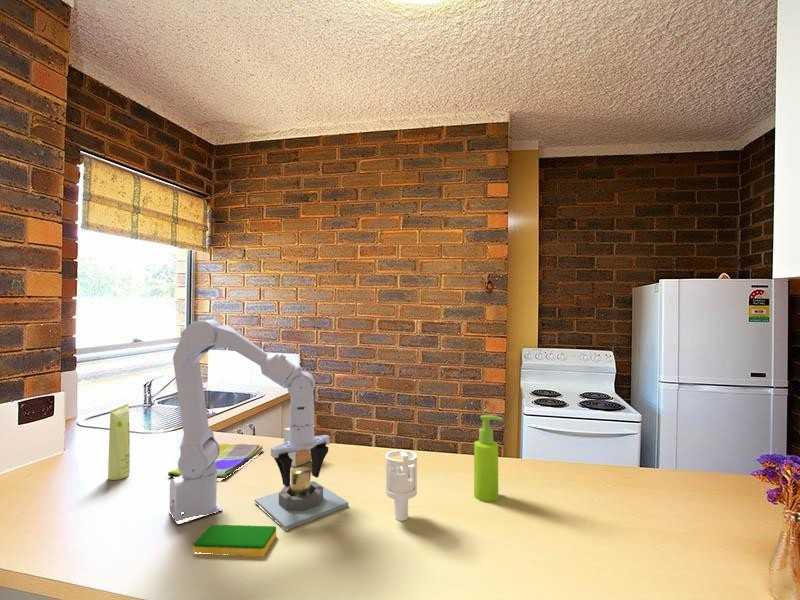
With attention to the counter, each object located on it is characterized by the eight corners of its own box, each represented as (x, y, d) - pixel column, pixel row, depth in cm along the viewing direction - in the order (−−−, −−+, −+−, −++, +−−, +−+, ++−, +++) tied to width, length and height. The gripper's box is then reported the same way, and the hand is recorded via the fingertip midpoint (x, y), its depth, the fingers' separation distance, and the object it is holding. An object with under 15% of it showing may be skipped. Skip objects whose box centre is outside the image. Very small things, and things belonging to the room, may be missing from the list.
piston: (296, 507, 94) (296, 476, 94) (287, 500, 98) (287, 470, 98) (313, 500, 97) (313, 471, 97) (304, 494, 101) (304, 465, 101)
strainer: (389, 527, 87) (389, 457, 88) (382, 511, 94) (382, 446, 94) (421, 523, 89) (421, 454, 89) (411, 507, 96) (411, 443, 96)
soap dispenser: (503, 503, 98) (503, 420, 99) (474, 500, 100) (473, 418, 100) (502, 492, 104) (501, 413, 104) (474, 490, 105) (474, 412, 106)
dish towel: (164, 480, 112) (164, 470, 112) (216, 449, 136) (216, 441, 136) (223, 484, 110) (223, 474, 110) (265, 452, 134) (265, 443, 134)
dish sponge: (211, 535, 85) (211, 523, 85) (276, 537, 84) (276, 525, 84) (192, 556, 78) (192, 543, 78) (263, 558, 77) (263, 545, 77)
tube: (132, 477, 112) (132, 406, 113) (109, 483, 109) (110, 409, 109) (127, 471, 117) (128, 403, 117) (106, 476, 113) (107, 405, 113)
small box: (295, 467, 120) (295, 431, 120) (283, 463, 123) (283, 428, 123) (316, 459, 126) (316, 425, 126) (304, 455, 129) (304, 422, 130)
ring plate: (285, 531, 86) (285, 514, 86) (254, 503, 98) (254, 488, 98) (348, 506, 97) (348, 491, 97) (313, 484, 108) (313, 471, 109)
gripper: (280, 433, 90) (280, 495, 89) (336, 421, 99) (336, 477, 99) (267, 426, 95) (266, 485, 95) (321, 415, 105) (321, 468, 104)
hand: (301, 480), depth 97 cm, fingers open, 7 cm apart
